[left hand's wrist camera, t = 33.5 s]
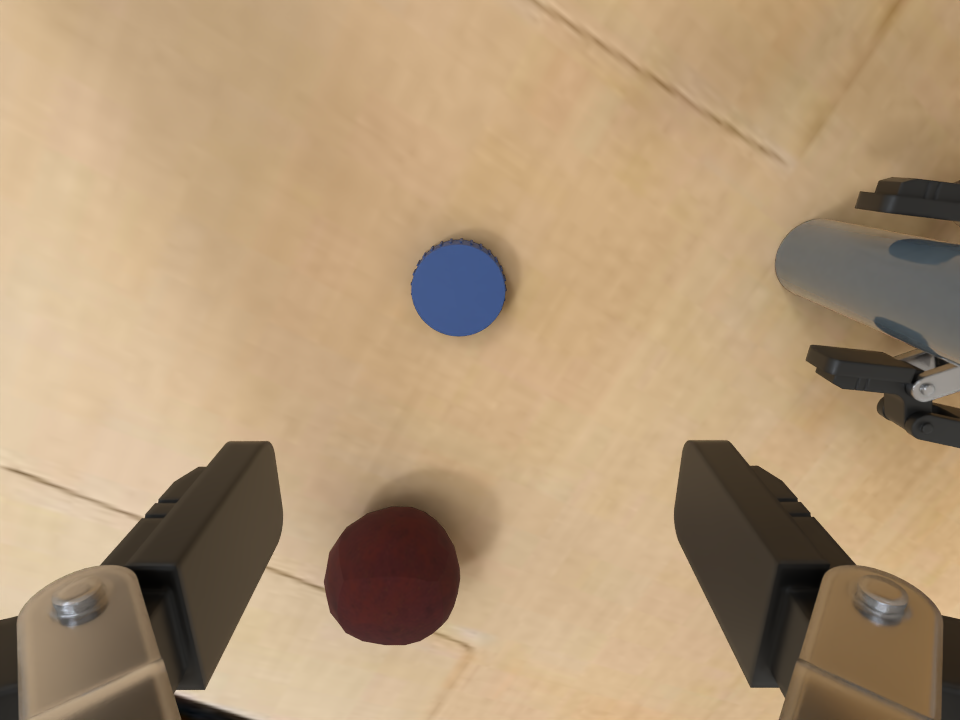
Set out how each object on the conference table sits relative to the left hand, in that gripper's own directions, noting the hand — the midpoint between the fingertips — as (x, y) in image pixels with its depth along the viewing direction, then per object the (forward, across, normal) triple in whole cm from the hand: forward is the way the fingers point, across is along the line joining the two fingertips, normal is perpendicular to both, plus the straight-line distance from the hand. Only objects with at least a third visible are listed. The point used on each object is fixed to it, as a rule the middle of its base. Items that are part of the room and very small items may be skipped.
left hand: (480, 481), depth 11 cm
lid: (+20, -1, -1) cm, 20 cm away
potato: (+21, -5, -17) cm, 27 cm away
